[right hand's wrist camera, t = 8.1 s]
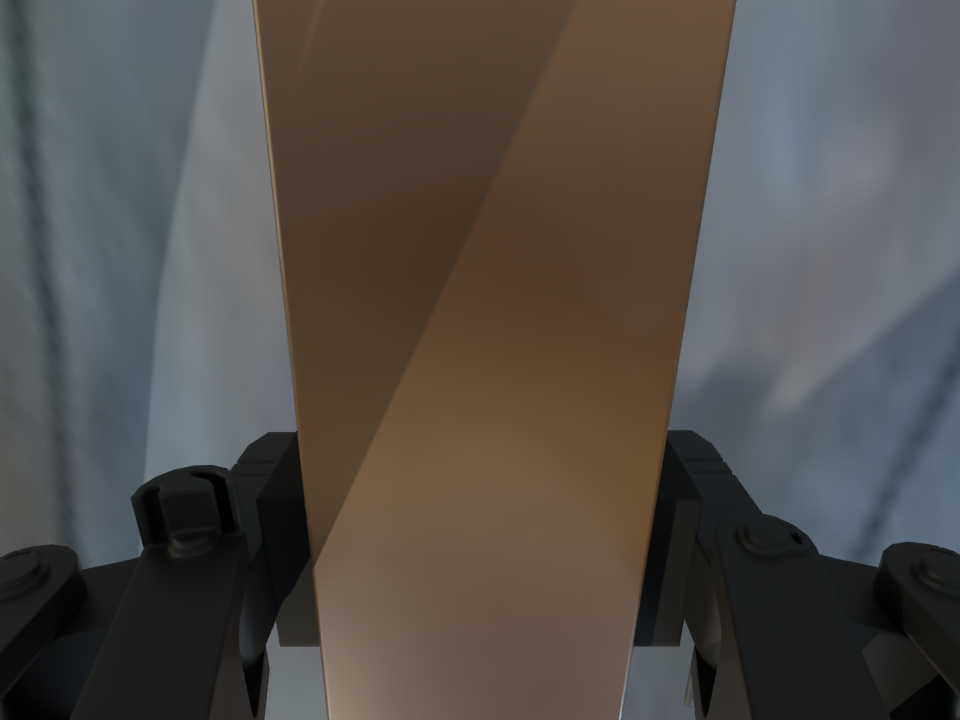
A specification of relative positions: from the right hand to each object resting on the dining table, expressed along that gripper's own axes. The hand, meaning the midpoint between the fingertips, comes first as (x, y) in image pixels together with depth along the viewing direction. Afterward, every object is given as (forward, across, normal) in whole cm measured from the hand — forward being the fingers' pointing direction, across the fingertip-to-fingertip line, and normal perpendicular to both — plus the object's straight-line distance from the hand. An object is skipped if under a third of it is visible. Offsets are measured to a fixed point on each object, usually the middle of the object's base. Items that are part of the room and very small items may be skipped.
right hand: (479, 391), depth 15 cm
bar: (+1, -1, -31) cm, 31 cm away
